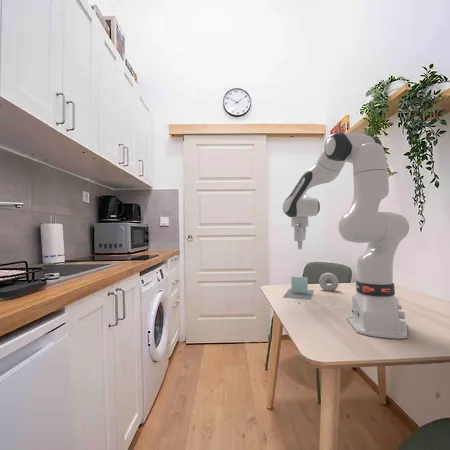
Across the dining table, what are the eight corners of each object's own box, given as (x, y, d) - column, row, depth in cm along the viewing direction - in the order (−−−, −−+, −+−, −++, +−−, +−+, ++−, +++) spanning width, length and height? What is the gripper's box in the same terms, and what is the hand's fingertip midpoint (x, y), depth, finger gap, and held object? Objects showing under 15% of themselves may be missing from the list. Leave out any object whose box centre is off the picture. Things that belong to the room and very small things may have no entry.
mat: (310, 300, 130) (310, 299, 130) (282, 298, 134) (282, 297, 134) (313, 291, 150) (313, 290, 150) (289, 289, 155) (289, 288, 155)
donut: (318, 291, 150) (318, 272, 151) (319, 289, 153) (319, 271, 154) (338, 293, 145) (338, 273, 146) (339, 291, 148) (339, 272, 149)
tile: (307, 293, 142) (307, 277, 142) (291, 292, 145) (291, 277, 145) (307, 293, 143) (307, 277, 144) (291, 291, 146) (291, 276, 146)
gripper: (303, 222, 140) (304, 250, 139) (307, 223, 159) (307, 248, 159) (291, 223, 142) (291, 250, 142) (296, 223, 161) (296, 247, 161)
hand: (300, 249), depth 150 cm, fingers closed
